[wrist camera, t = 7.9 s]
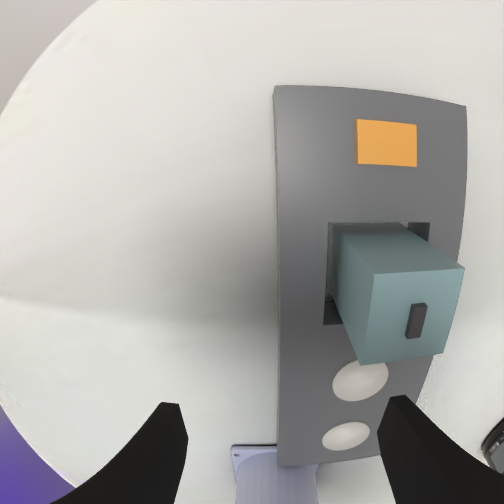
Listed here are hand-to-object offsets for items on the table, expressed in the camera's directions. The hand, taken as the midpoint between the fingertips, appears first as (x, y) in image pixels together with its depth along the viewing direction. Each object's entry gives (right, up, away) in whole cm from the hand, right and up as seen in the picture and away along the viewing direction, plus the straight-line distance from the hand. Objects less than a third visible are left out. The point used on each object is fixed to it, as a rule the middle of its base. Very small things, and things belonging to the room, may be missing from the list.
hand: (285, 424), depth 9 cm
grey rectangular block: (+5, +6, +8) cm, 11 cm away
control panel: (+5, +2, +9) cm, 11 cm away
